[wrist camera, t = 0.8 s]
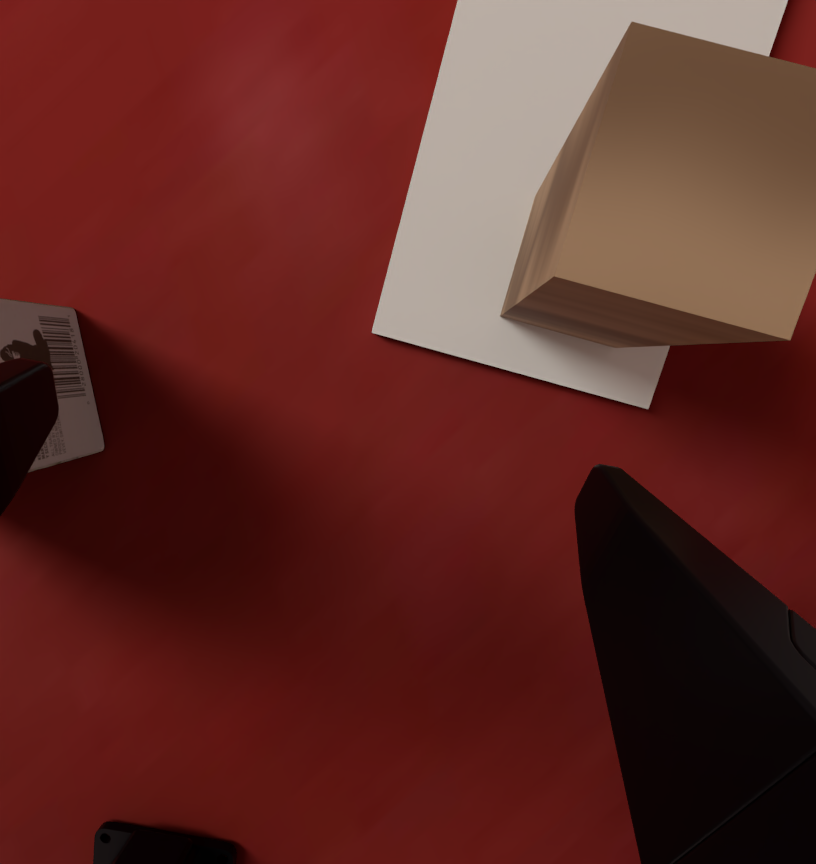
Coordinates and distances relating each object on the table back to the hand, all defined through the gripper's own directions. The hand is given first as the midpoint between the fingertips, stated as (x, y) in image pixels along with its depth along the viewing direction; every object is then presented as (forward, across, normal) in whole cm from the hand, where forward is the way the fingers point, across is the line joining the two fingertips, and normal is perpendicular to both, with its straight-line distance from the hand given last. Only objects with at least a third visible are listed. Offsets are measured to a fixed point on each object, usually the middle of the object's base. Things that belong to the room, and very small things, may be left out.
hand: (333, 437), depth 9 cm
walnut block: (+13, -8, 0) cm, 15 cm away
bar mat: (+16, -7, -5) cm, 18 cm away
